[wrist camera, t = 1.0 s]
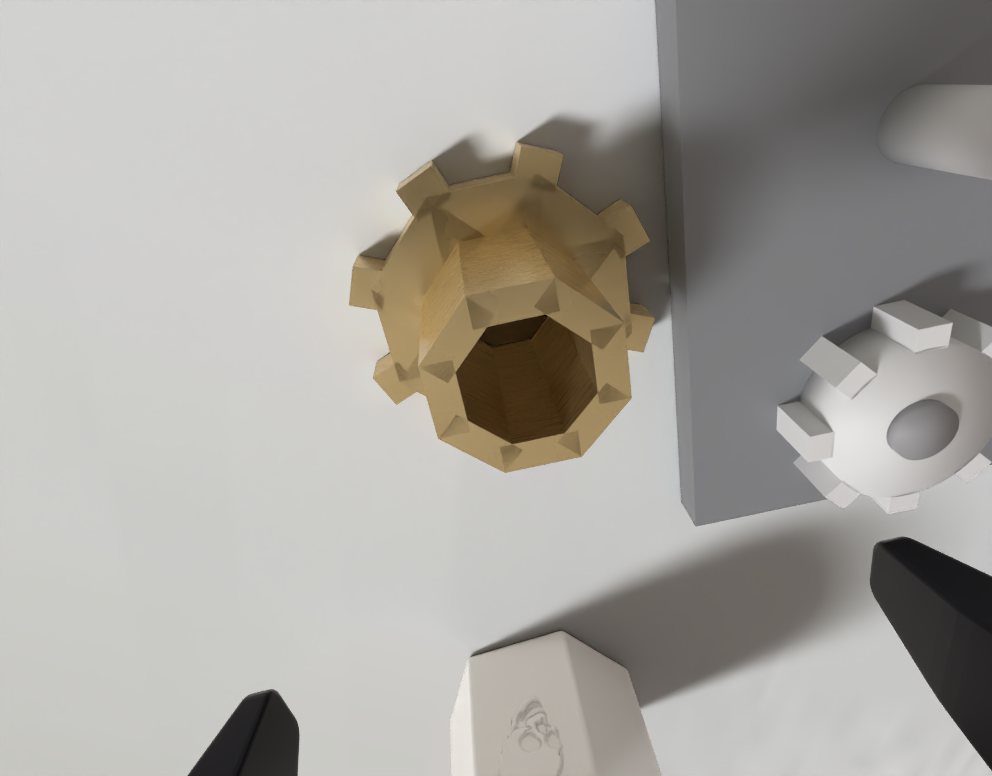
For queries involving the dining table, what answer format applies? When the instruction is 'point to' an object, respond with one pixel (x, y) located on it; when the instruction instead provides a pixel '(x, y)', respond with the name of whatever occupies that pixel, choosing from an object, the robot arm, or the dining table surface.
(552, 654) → the jar
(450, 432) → the brass gear
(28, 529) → the dining table surface
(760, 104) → the plate
